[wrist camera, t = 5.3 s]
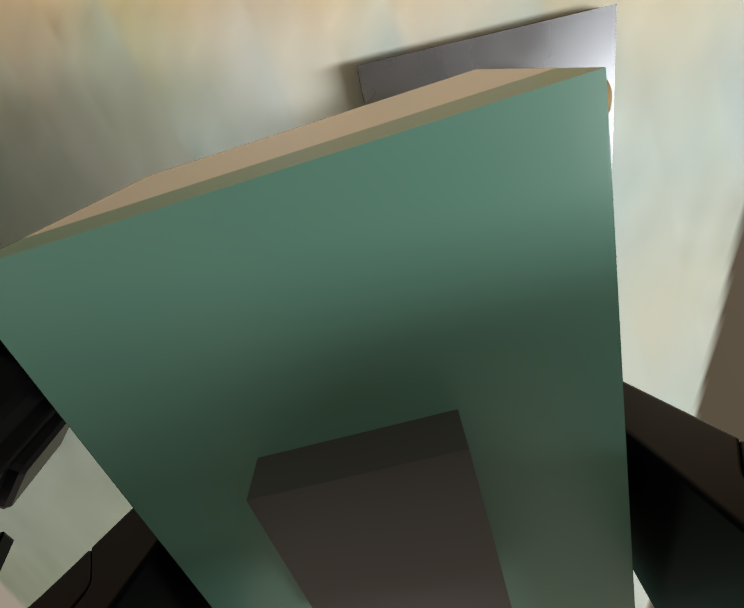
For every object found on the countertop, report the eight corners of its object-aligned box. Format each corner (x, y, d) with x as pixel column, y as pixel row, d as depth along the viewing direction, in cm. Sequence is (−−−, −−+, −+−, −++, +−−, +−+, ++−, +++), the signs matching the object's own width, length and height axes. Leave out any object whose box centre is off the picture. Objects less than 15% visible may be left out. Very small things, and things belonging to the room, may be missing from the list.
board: (550, 504, 12) (658, 753, 8) (341, 548, 13) (330, 802, 9) (475, 69, 8) (648, 66, 3) (149, 176, 8) (-111, 304, 4)
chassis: (596, 318, 22) (644, 365, 19) (414, 354, 23) (427, 407, 19) (602, 7, 16) (673, -12, 13) (357, 65, 17) (358, 63, 13)
